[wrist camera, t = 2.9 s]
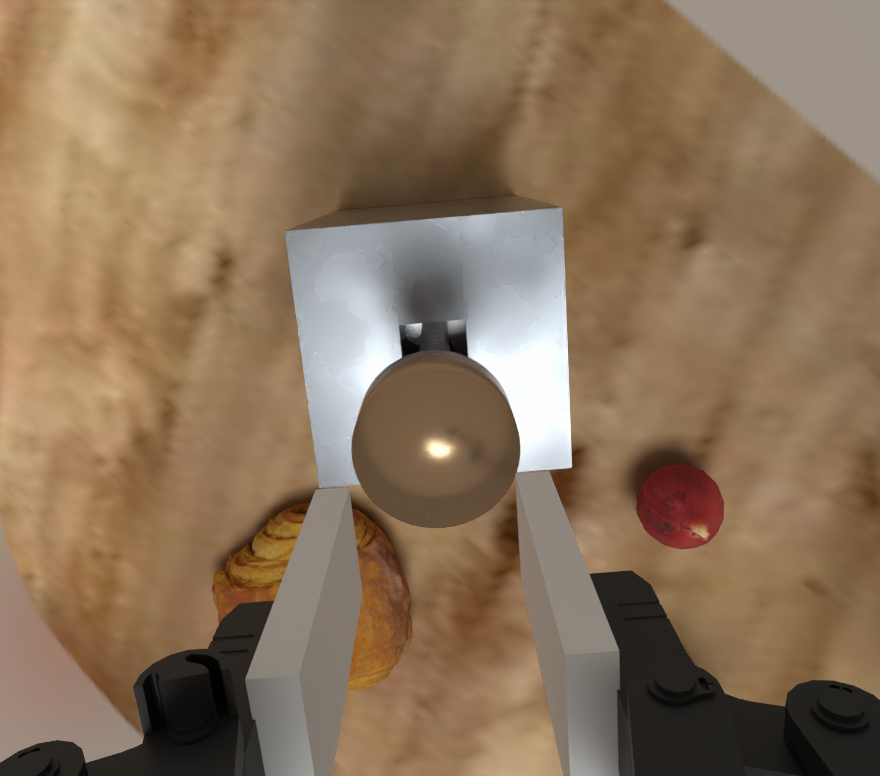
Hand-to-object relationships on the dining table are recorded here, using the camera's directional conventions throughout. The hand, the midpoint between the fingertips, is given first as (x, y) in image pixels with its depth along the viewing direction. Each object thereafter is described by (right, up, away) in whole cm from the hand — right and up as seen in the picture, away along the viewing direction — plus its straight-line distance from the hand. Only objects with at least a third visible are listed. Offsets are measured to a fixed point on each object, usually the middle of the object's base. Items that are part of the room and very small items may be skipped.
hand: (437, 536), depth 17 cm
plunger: (0, +7, +25) cm, 26 cm away
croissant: (-9, -12, +42) cm, 45 cm away
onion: (+17, -4, +40) cm, 43 cm away
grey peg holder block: (0, +10, +35) cm, 37 cm away
